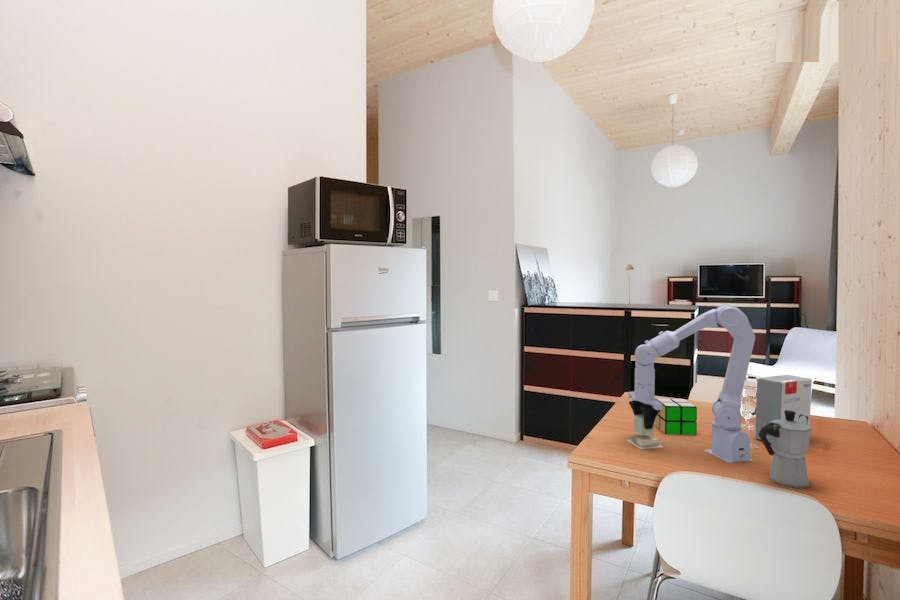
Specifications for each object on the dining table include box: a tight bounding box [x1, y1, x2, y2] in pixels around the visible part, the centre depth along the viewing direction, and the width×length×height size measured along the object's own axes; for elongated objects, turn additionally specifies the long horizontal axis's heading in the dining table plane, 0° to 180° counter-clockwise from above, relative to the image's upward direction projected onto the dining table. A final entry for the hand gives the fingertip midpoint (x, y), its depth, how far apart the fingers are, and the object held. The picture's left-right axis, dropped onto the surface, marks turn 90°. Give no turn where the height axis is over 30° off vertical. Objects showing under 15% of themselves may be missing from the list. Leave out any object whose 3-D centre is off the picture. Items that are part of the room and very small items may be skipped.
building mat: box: [625, 438, 664, 450], centre depth 139 cm, size 14×16×1 cm
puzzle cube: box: [654, 398, 698, 436], centre depth 151 cm, size 10×10×10 cm
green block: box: [633, 414, 655, 435], centre depth 139 cm, size 4×4×5 cm
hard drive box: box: [754, 374, 813, 445], centre depth 142 cm, size 16×8×20 cm, turn 112°
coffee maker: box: [759, 410, 813, 489], centre depth 113 cm, size 15×9×18 cm, turn 99°
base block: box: [629, 433, 660, 447], centre depth 139 cm, size 6×6×2 cm
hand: (644, 426), depth 139 cm, fingers closed on green block, 4 cm apart
